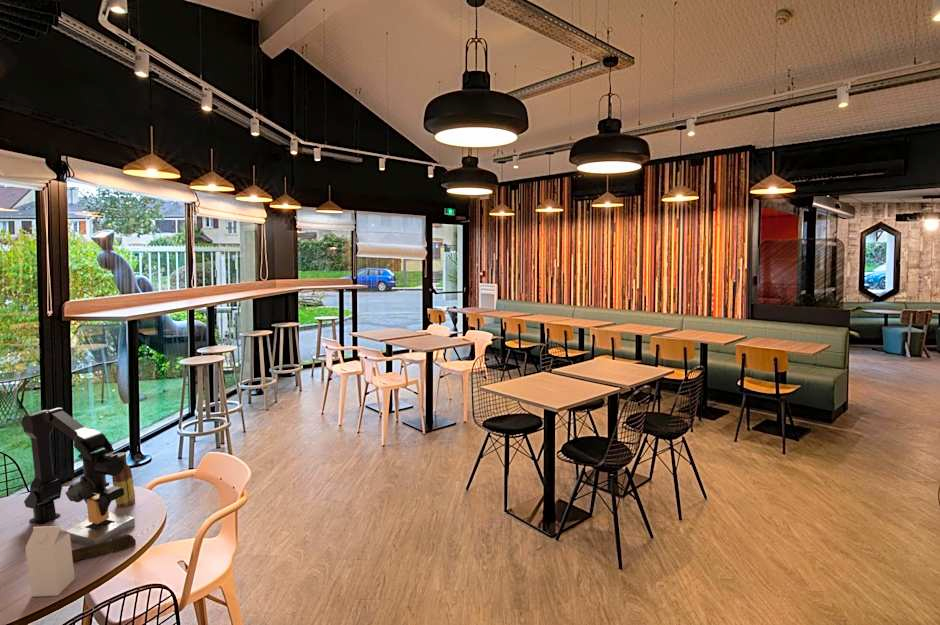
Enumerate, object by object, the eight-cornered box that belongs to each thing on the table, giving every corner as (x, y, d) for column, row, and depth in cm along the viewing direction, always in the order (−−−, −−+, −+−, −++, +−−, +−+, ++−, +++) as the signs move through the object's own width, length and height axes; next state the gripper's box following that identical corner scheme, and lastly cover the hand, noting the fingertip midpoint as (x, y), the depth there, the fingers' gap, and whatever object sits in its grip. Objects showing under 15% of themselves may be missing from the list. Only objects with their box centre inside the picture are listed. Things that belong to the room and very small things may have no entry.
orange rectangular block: (88, 521, 175) (86, 499, 174) (100, 515, 179) (98, 494, 177) (97, 523, 174) (95, 501, 172) (108, 517, 177) (106, 495, 176)
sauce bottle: (131, 498, 200) (126, 449, 198) (138, 502, 197) (134, 453, 194) (112, 504, 195) (107, 454, 192) (119, 510, 191) (114, 458, 189)
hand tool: (61, 568, 158) (60, 554, 158) (64, 560, 162) (62, 547, 161) (135, 550, 167) (133, 537, 167) (136, 544, 171) (134, 531, 170)
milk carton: (49, 580, 152) (42, 520, 149) (75, 579, 153) (68, 519, 150) (31, 597, 145) (23, 534, 142) (58, 596, 146) (51, 533, 143)
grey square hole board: (64, 539, 172) (63, 531, 172) (105, 518, 186) (104, 510, 185) (95, 547, 168) (94, 539, 168) (134, 525, 181) (134, 517, 181)
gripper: (49, 476, 169) (53, 521, 171) (90, 485, 163) (95, 531, 165) (83, 463, 179) (87, 505, 182) (123, 470, 174) (127, 514, 176)
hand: (98, 514), depth 176 cm, fingers closed on orange rectangular block, 4 cm apart
